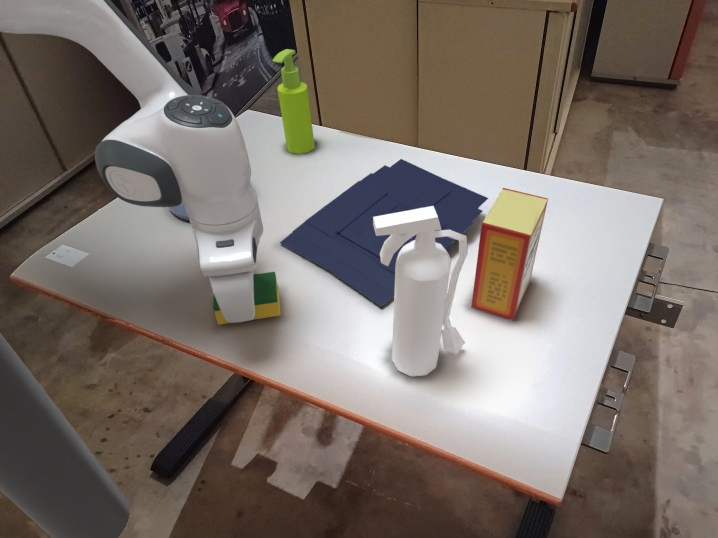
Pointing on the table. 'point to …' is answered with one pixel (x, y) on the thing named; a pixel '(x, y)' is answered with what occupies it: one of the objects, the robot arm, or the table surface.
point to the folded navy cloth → (356, 231)
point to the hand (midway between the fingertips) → (247, 298)
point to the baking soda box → (507, 252)
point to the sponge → (259, 298)
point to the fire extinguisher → (420, 288)
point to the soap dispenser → (294, 106)
